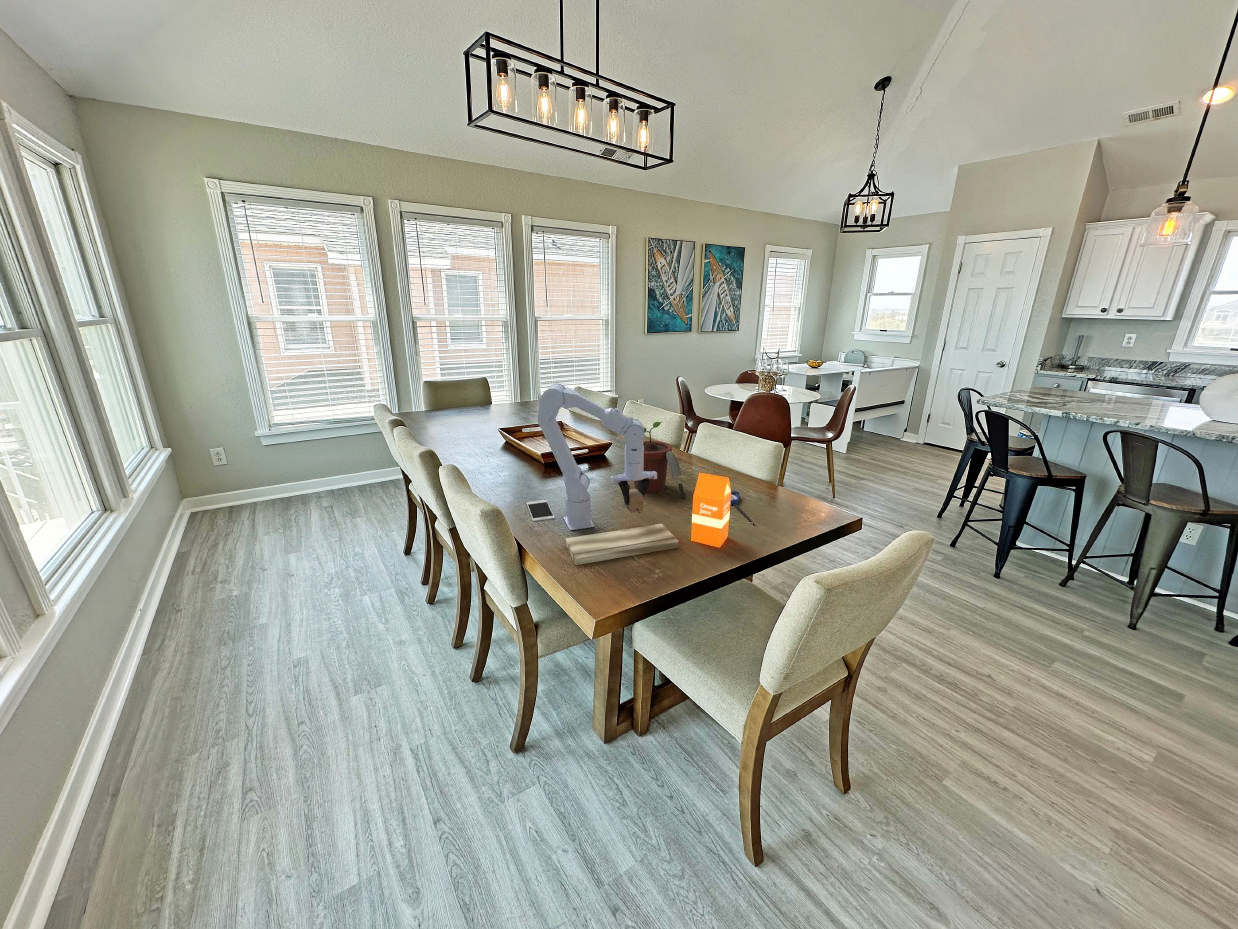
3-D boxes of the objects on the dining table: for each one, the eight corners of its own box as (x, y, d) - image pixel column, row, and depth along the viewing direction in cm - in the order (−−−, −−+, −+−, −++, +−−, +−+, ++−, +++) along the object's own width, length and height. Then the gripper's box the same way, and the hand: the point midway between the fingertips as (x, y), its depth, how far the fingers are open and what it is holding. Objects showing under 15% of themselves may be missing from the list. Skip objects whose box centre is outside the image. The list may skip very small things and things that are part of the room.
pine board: (565, 544, 138) (565, 538, 137) (661, 529, 147) (661, 523, 146) (575, 565, 127) (575, 558, 126) (678, 547, 136) (678, 541, 135)
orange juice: (719, 547, 136) (724, 482, 130) (690, 540, 140) (693, 476, 134) (728, 536, 142) (733, 473, 136) (699, 530, 147) (703, 468, 140)
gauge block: (624, 505, 150) (624, 490, 149) (636, 503, 152) (636, 488, 150) (632, 515, 143) (633, 499, 142) (645, 513, 145) (645, 498, 143)
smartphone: (546, 501, 168) (546, 499, 168) (555, 520, 155) (555, 517, 154) (526, 504, 166) (526, 502, 166) (533, 523, 152) (532, 520, 152)
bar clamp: (708, 490, 172) (734, 488, 174) (708, 496, 173) (734, 494, 174) (746, 533, 142) (777, 531, 144) (745, 540, 143) (776, 538, 145)
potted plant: (667, 477, 190) (669, 416, 182) (686, 498, 170) (689, 430, 162) (624, 481, 187) (624, 418, 179) (637, 502, 167) (638, 433, 159)
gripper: (651, 454, 149) (650, 495, 154) (607, 459, 145) (607, 500, 149) (660, 461, 143) (659, 503, 147) (614, 466, 138) (614, 509, 143)
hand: (633, 502), depth 148 cm, fingers closed on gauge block, 4 cm apart
